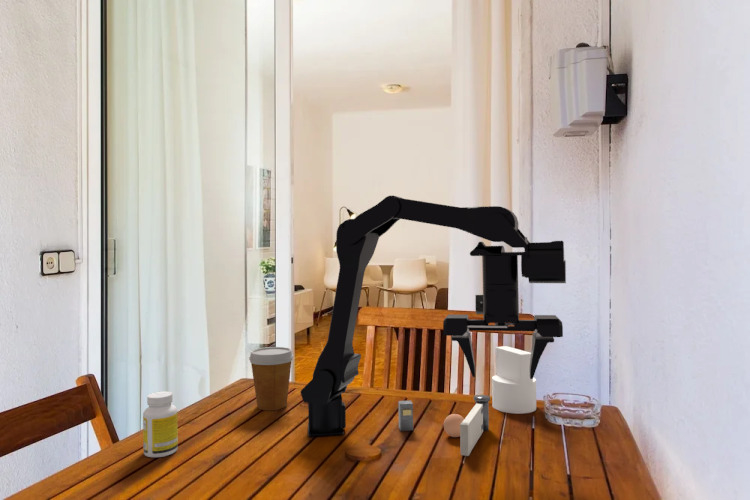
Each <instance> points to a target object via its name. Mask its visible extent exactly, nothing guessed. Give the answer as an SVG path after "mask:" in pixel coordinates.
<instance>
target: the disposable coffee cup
mask: <svg viewBox="0 0 750 500" xmlns="http://www.w3.org/2000/svg"><path fill="white" fill-rule="evenodd" d="M294 355H295V354H293V351H292V348H289V347H284V346H269V347H261V348H256V349H253V350H251V352H250V355H249V356H248V360H249V361H250V363H251V364H250V365H251V372H252V378H253V386H254V391H255V393H254V394H255V398H256V407H257V409H259V410H263V411H276V410H281V409H284V408H286V407H287V406H288V397H289V396H288V395H289V388H290V379H291V378H290V377H291V371H292V370H291V369H292V362H293V358H294Z"/></svg>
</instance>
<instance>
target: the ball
mask: <svg viewBox="0 0 750 500" xmlns="http://www.w3.org/2000/svg"><path fill="white" fill-rule="evenodd" d="M464 419H465V418H464V417H463V416H462V415H460V414H458V413H452V414H449V415H448V416H446V418H445V419H444V421H443V429H444V431H445V432H446V434H447V435H448V436H450V437H451V438H459V437H460V424H461V423H462V422H463V420H464Z"/></svg>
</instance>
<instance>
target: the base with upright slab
mask: <svg viewBox="0 0 750 500" xmlns="http://www.w3.org/2000/svg"><path fill="white" fill-rule="evenodd" d="M530 359H531V351H526V350H522V349H519V348H515V347H512V346H508V345H502V346H496V347H495V374H494V375H493V376H492V377H491V384H492V387H491V390H492V395H491V396H492V405H491V406H492V408H493V409H494V410H497V411H498V412H502V413H506V414H507V413H508V414H517V415H518V414H530V413H533V412H535V411H536V410H537V379H536V377H533V379H530Z"/></svg>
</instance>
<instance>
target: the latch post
mask: <svg viewBox="0 0 750 500" xmlns="http://www.w3.org/2000/svg"><path fill="white" fill-rule="evenodd" d="M397 409H398V429H399V431H400V432H405V431H409V432H410V431H414V403H413V401H412V400H398V408H397Z"/></svg>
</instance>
